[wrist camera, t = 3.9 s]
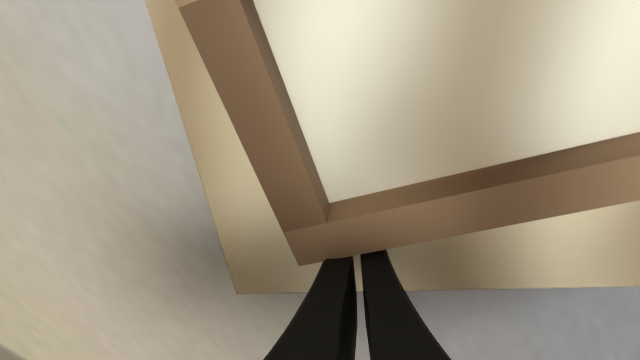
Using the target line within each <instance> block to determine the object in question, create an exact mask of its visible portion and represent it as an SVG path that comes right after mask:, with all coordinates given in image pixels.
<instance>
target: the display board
mask: <svg viewBox="0 0 640 360" xmlns="http://www.w3.org/2000/svg"><path fill="white" fill-rule="evenodd" d="M145 1H146V4H147V8H148V11H149V14H150V17H151V21H152V24H153V27H154V30H155V33H156V37H157V40H158V43H159V46H160V50H161V53H162V56H163V59H164V62H165V66H166V69H167V72H168V75H169V79H170V82H171V85H172V88H173V91H174V95H175V98H176V101H177V104H178V108H179V111H180V114H181V117H182V120H183V124H184V127H185V130H186V133H187V137H188V140H189V143H190V146H191V149H192V153H193V156H194V159H195V162H196V166H197V169H198V172H199V175H200V178H201V182H202V185H203V188H204V191H205V195H206V198H207V201H208V204H209V207H210V211H211V214H212V217H213V220H214V224H215V227H216V230H217V233H218V236H219V240H220V243H221V246H222V249H223V253H224V256H225V259H226V262H227V265H228V269H229V272H230V275H231V278H232V282H233V285H234V288H235V291H236V294H261V293H308V291H309V289H310V288H311V286H312V284H313V282H314V280H315V278H316V276H317V274H318V272H319V269H320V267H321V265H322V263H323V262H319V263H314V264H308V265H303V266H298V264H297V261H296V259H295V257H294V255H293V253H292V251H291V249H290V246H289V244H288V242H287V240H286V238H285V236H284V234H283V231H282V229H281V227H280V225H279V223H278V221H277V219H276V216H275V214H274V212H273V210H272V208H271V206H270V204H269V201H268V199H267V197H266V195H265V193H264V191H263V189H262V186H261V184H260V182H259V180H258V178H257V176H256V174H255V171H254V169H253V167H252V165H251V163H250V161H249V159H248V156H247V154H246V152H245V150H244V148H243V146H242V144H241V141H240V139H239V137H238V135H237V133H236V131H235V129H234V126H233V124H232V122H231V120H230V118H229V116H228V114H227V111H226V109H225V107H224V105H223V103H222V101H221V99H220V96H219V94H218V92H217V90H216V88H215V86H214V84H213V81H212V79H211V77H210V75H209V73H208V71H207V69H206V66H205V64H204V62H203V60H202V58H201V56H200V54H199V51H198V49H197V47H196V45H195V43H194V41H193V39H192V36H191V34H190V32H189V30H188V28H187V26H186V24H185V21H184V19H183V17H182V15H181V13H180V11H179V9H178V6H177V4H176V2H175V0H145ZM386 250H387V253H388V256H389V259H390V261H391V264H392V266H393V268H394V270H395V273H396V275H397V277H398V279H399V281H400V283H401V285H402V286H403V288H404V290H405V291H419V290H471V289H524V288H577V287H629V286H640V200H639V201H634V202H629V203H624V204H618V205H613V206H608V207H603V208H598V209H593V210H587V211H582V212H577V213H572V214H567V215H562V216H556V217H551V218H546V219H541V220H536V221H531V222H525V223H520V224H515V225H510V226H505V227H500V228H494V229H489V230H484V231H479V232H474V233H469V234H463V235H458V236H453V237H448V238H443V239H438V240H432V241H427V242H422V243H417V244H412V245H407V246H401V247H396V248H391V249H386ZM353 260H354V271H355V281H356V292H363V283H362V271H361V259H360V255H355V256H353Z"/></svg>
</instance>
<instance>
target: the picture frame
mask: <svg viewBox="0 0 640 360" xmlns="http://www.w3.org/2000/svg"><path fill="white" fill-rule="evenodd" d="M175 2H176V4H177V6H178V9H179V11H180V13H181V15H182V17H183V19H184V21H185V24H186V26H187V28H188V30H189V32H190V34H191V36H192V39H193V41H194V43H195V45H196V47H197V49H198V51H199V54H200V56H201V58H202V60H203V62H204V64H205V66H206V69H207V71H208V73H209V75H210V77H211V79H212V81H213V84H214V86H215V88H216V90H217V92H218V94H219V96H220V99H221V101H222V103H223V105H224V107H225V109H226V111H227V114H228V116H229V118H230V120H231V122H232V124H233V126H234V129H235V131H236V133H237V135H238V137H239V139H240V141H241V144H242V146H243V148H244V150H245V152H246V154H247V156H248V159H249V161H250V163H251V165H252V167H253V169H254V171H255V174H256V176H257V178H258V180H259V182H260V184H261V186H262V189H263V191H264V193H265V195H266V197H267V199H268V201H269V204H270V206H271V208H272V210H273V212H274V214H275V216H276V219H277V221H278V223H279V225H280V227H281V229H282V231H283V234H284V236H285V238H286V240H287V242H288V244H289V246H290V249H291V251H292V253H293V255H294V257H295V259H296V261H297V264H298V266H303V265H308V264H314V263H319V262H323V261H324V260H326V259H335V258H345V257H350V256H355V255H360V254H365V253H370V252H376V251H381V250H386V249H391V248H396V247H401V246H407V245H412V244H417V243H422V242H427V241H432V240H438V239H443V238H448V237H453V236H458V235H463V234H469V233H474V232H479V231H484V230H489V229H494V228H500V227H505V226H510V225H515V224H520V223H525V222H531V221H536V220H541V219H546V218H551V217H556V216H562V215H567V214H572V213H577V212H582V211H587V210H593V209H598V208H603V207H608V206H613V205H618V204H624V203H629V202H634V201H639V200H640V0H175Z"/></svg>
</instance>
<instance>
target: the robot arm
mask: <svg viewBox="0 0 640 360" xmlns="http://www.w3.org/2000/svg"><path fill="white" fill-rule="evenodd" d="M360 259H361V271H362V283H363V296H364V308H365V320H366V329H367V337H368V344H369V352H370V359H371V360H451V359H450V358H449V356H448V355H447V354H446V352H445V351H444V350H443V349H442V347H441V346H440V344H439V343H438V342H437V340H436V339H435V338H434V336H433V335H432V333H431V332H430V331H429V329H428V328H427V326H426V325H425V323H424V322H423V320H422V319H421V317H420V316H419V314H418V312H417V311H416V309H415V308H414V306H413V304H412V303H411V301H410V299H409V297H408V296H407V294H406V292H405V290H404V288H403V286H402V285H401V283H400V281H399V279H398V277H397V275H396V273H395V270H394V268H393V266H392V264H391V261H390V259H389V256H388V253H387V250H381V251H376V252H370V253H365V254H360ZM356 335H357V292H356V281H355V271H354V260H353V256H350V257H345V258H335V259H326V260H324V261H323V263H322V265H321V267H320V269H319V272H318V274H317V276H316V278H315V280H314V282H313V284H312V286H311V288H310V289H309V291H308V293H307V295H306V297H305V299H304V301H303V302H302V304H301V306H300V307H299V309H298V311H297V312H296V314H295V316H294V317H293V319H292V321H291V322H290V324H289V325H288V327H287V328H286V330H285V331H284V333H283V334H282V335H281V337H280V338H279V340H278V341H277V342H276V344H275V345H274V347H273V348H272V349H271V351H270V352H269V353H268V354H267V356H266V357H265V358H264V359H263V360H355V348H356Z"/></svg>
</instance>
